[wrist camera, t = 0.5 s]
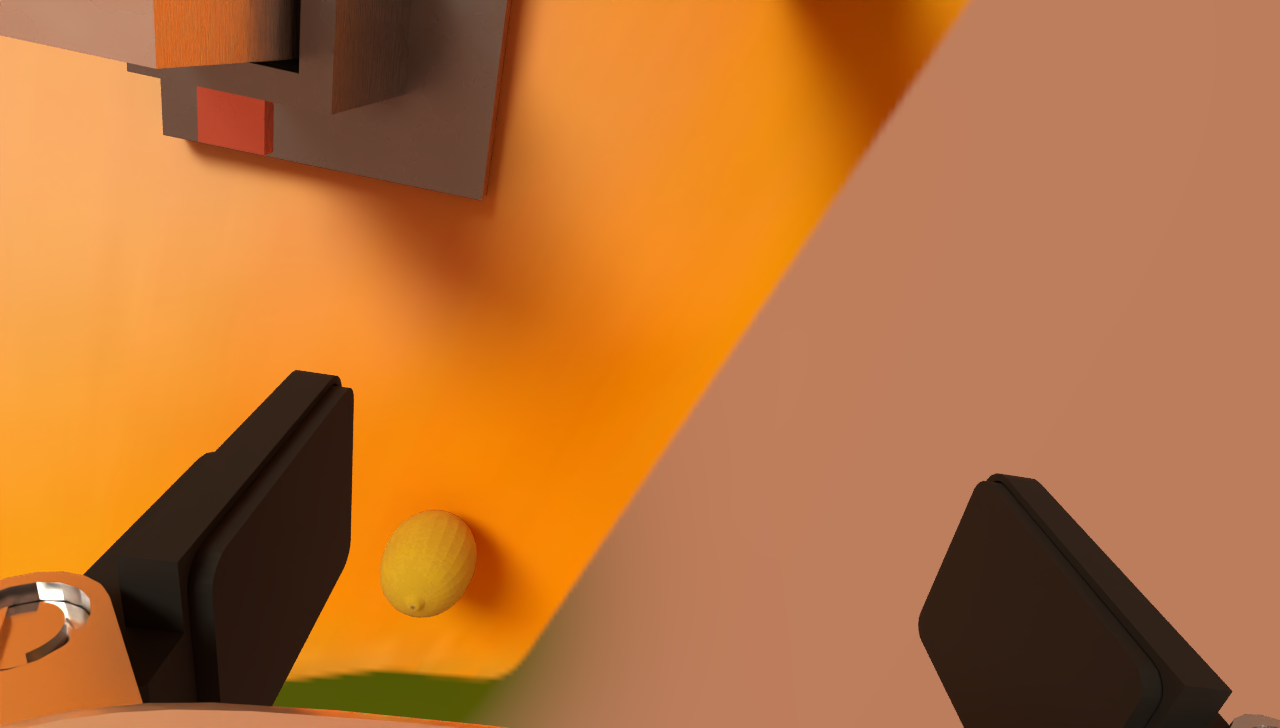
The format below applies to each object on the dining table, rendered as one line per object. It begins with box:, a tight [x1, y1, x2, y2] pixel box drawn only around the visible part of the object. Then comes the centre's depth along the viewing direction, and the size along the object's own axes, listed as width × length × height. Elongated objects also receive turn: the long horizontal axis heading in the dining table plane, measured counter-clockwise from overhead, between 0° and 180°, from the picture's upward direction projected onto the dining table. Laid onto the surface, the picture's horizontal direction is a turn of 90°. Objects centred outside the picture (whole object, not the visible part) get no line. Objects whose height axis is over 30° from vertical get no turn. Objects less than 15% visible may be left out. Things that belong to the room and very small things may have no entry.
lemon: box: [380, 510, 477, 618], centre depth 45 cm, size 6×6×8 cm
